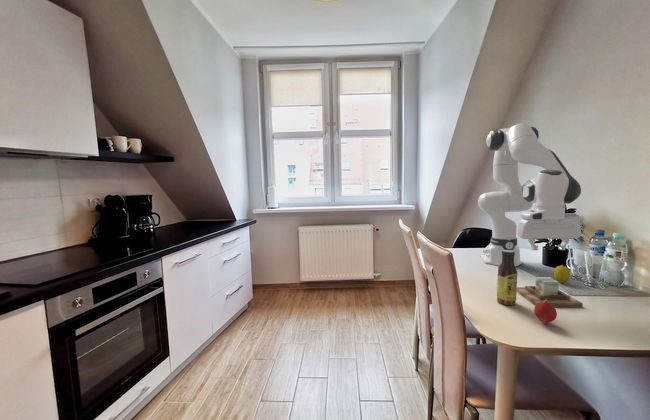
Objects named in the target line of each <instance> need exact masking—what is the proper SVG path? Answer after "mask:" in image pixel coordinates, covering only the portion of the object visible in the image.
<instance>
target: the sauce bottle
mask: <svg viewBox="0 0 650 420" xmlns="http://www.w3.org/2000/svg"><path fill="white" fill-rule="evenodd" d="M514 255H515V252H514V251H512V250H502V263H501V264H500V266H498V267H497V280H496V281H497V282H496V285H497V286H496V301H497V302H498V303H499V304H500V305H501V304H502V305H504V306H505V305H506V306H514V305H516V301H517V294H518V293H517V287H518V271H517V268H516V266H515V265H514Z"/></svg>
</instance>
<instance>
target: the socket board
mask: <svg viewBox="0 0 650 420" xmlns="http://www.w3.org/2000/svg"><path fill="white" fill-rule="evenodd" d="M535 288H536V285H525V287H524V286H522V287H519V286H517V294H519V295H520V296H521V297H522V298H524V299H525V300H527V301H528V302H529V303H530V304H532V305H534V307H535V306H536V305H537V304H538V303H540V302H542V301H544V300H548V303H550V304H551V305H552V306H553V307H554V308H583V302H581V301H579V300H578V299H576V298H574V297H573V296H570V295H569V294H567V293H566V292H563V291H562V290H560V289H558V295H542V294H540V293H538V292H537V291H535Z"/></svg>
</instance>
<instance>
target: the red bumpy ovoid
mask: <svg viewBox="0 0 650 420" xmlns="http://www.w3.org/2000/svg"><path fill="white" fill-rule="evenodd" d="M533 313H534V315H535V318H537V319H538V320H539V321H540V322H541V323H542V324H545V325H546V324H547V325H548V324H549V323H551V322H553V321H555V320H556V319H557V316H558V312H557V310H556V307H553V306H552V305H551V304H550V303H548V300H544V301H542V302H540V303H538V304H537V305H536V306H535V305H534V308H533Z"/></svg>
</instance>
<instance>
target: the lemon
mask: <svg viewBox="0 0 650 420" xmlns="http://www.w3.org/2000/svg"><path fill="white" fill-rule="evenodd" d="M553 277H554V280H556V281H558V283H560V284H563V283H565V282H568V281H569V280H570V278H571V272H570V269H569V268H568V267H567V266H564V264H562V265H558V266H556V267H555V268H554V270H553Z"/></svg>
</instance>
